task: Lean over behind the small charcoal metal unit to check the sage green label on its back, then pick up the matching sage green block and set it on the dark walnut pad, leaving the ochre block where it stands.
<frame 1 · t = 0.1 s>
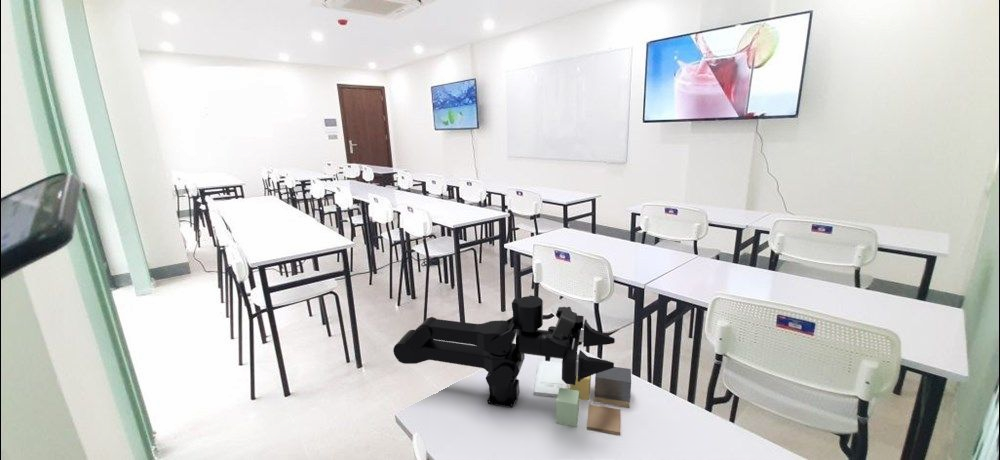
hand: (614, 352, 88), 17 cm above the table, tool horizontal, fingers open, 9 cm apart
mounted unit: (611, 397, 98), on the table
walnut pad: (604, 420, 91), on the table
external hard drive: (551, 382, 105), on the table
green part: (567, 417, 93), on the table
ochre part: (580, 392, 100), on the table
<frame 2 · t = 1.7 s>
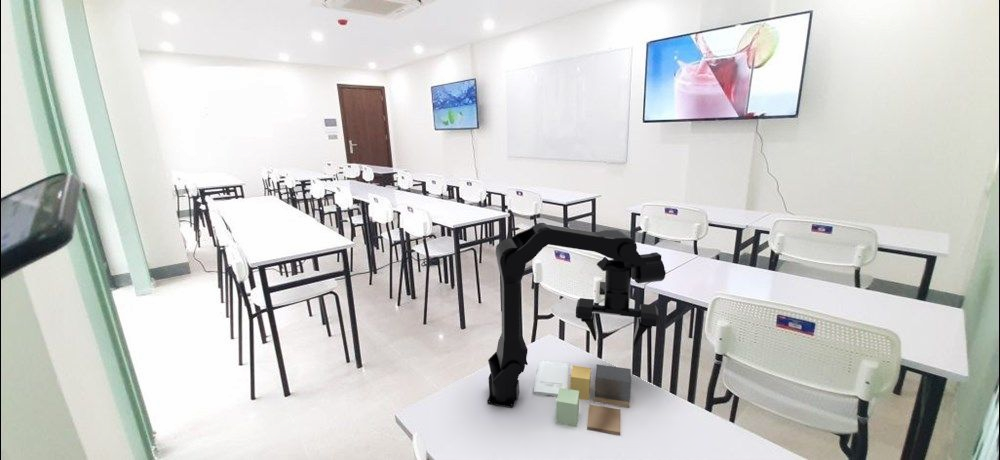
hand: (614, 342, 100), 12 cm above the table, tool pointing down, fingers open, 9 cm apart
nothing on the table moved.
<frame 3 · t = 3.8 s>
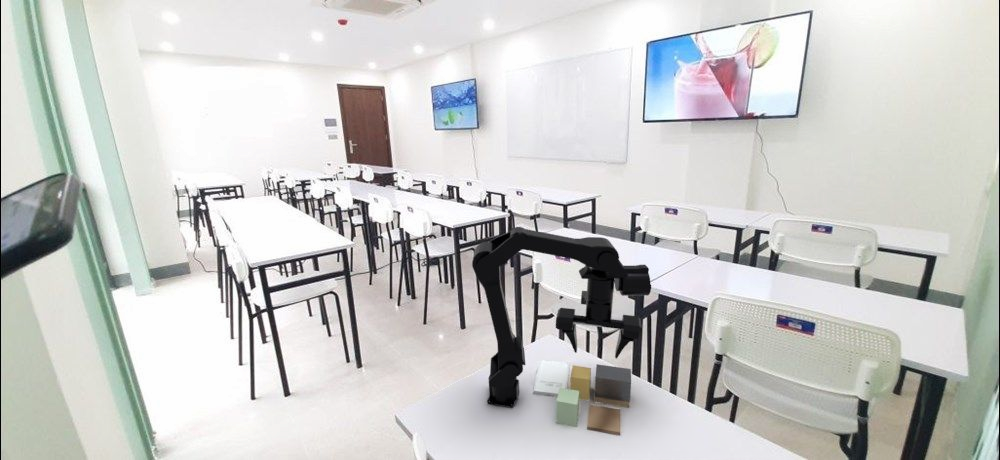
hand: (595, 354, 96), 12 cm above the table, tool pointing down, fingers open, 9 cm apart
nothing on the table moved.
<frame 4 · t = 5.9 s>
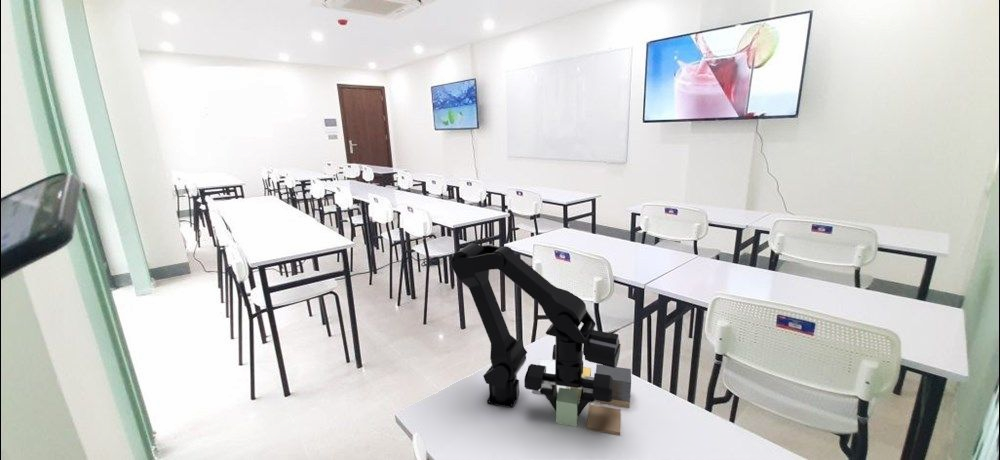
hand: (567, 413, 92), 1 cm above the table, tool pointing down, fingers closed on green part, 4 cm apart
green part: (567, 417, 92), on the table, touching gripper
everything else where it was.
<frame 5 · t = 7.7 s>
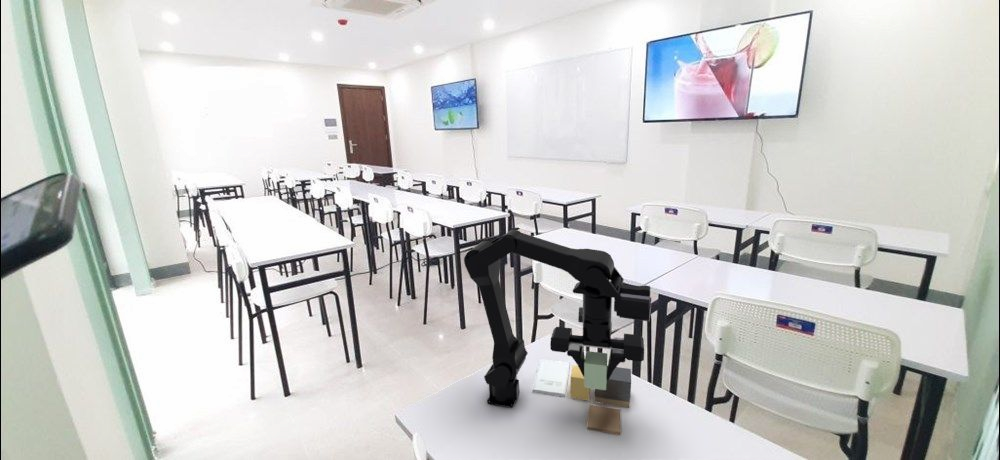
hand: (596, 377, 88), 12 cm above the table, tool pointing down, fingers closed on green part, 4 cm apart
green part: (595, 382, 88), point 10 cm above the table, touching gripper
everything else where it was.
when the fingers open (3 cm above the table, at t = 9.6 s): green part drops 1 cm, resting on walnut pad.
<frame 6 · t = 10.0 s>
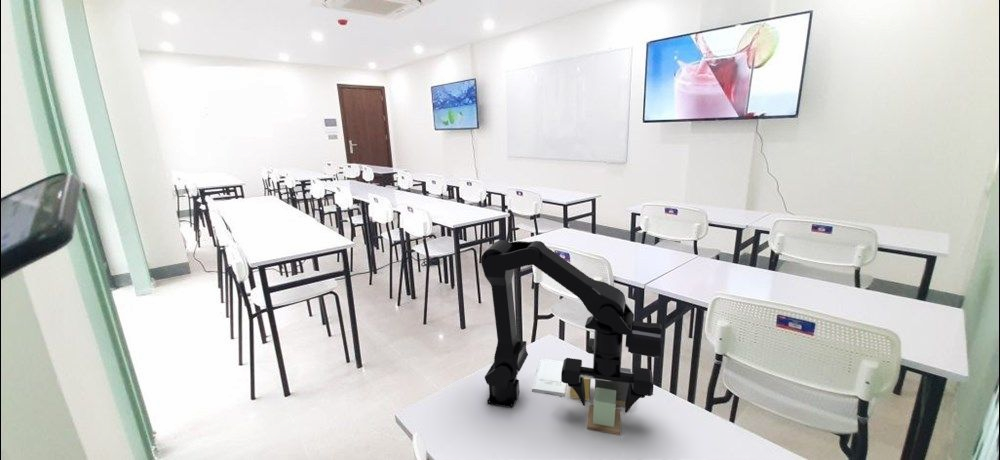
hand: (604, 407, 90), 3 cm above the table, tool pointing down, fingers open, 9 cm apart
green part: (604, 417, 91), point 1 cm above the table, touching walnut pad
everything else where it was.
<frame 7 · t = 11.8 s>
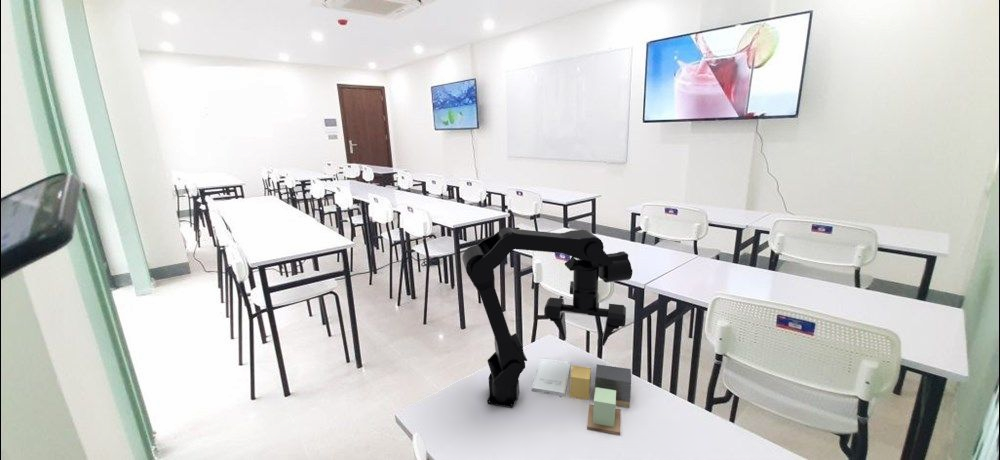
hand: (583, 342, 100), 12 cm above the table, tool pointing down, fingers open, 9 cm apart
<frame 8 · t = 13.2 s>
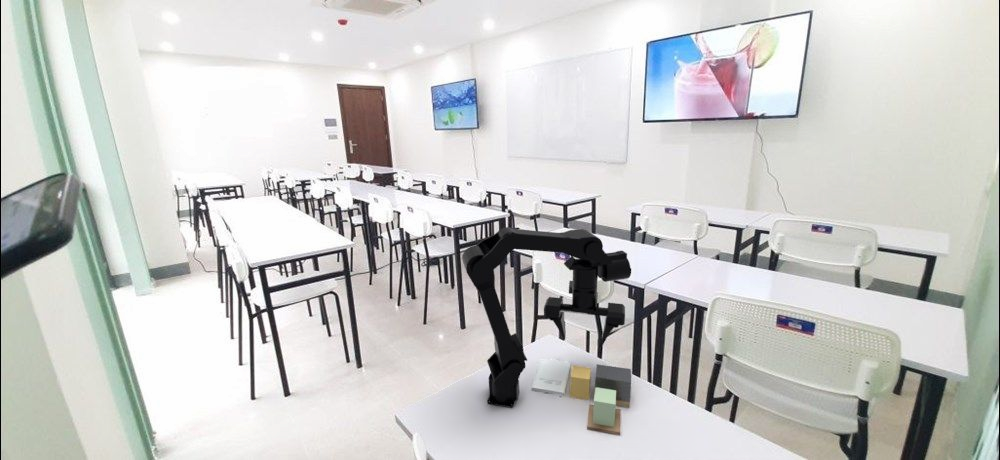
hand: (583, 341, 100), 12 cm above the table, tool pointing down, fingers open, 9 cm apart
at the end: green part 0.0 cm off-centre on the walnut pad, point 0.8 cm above the walnut pad's base; green part tilted 0°; ochre part moved 0.1 cm from its start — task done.
